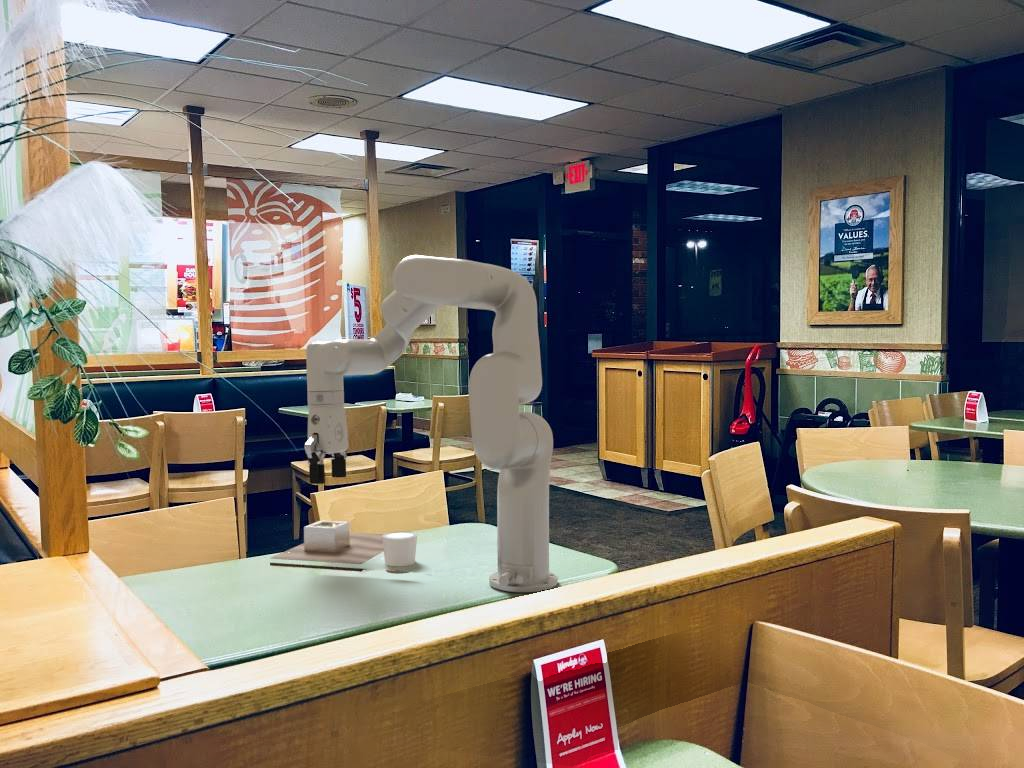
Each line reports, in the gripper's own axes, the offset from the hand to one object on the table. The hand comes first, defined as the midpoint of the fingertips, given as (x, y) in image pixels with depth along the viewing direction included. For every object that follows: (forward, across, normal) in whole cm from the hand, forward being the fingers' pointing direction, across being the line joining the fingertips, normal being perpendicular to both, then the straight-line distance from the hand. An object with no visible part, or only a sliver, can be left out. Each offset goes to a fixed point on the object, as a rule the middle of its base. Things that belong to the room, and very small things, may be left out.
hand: (328, 480), depth 168 cm
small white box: (+14, 0, +1) cm, 15 cm away
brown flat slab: (+16, +2, -2) cm, 16 cm away
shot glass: (+17, -8, -19) cm, 27 cm away
